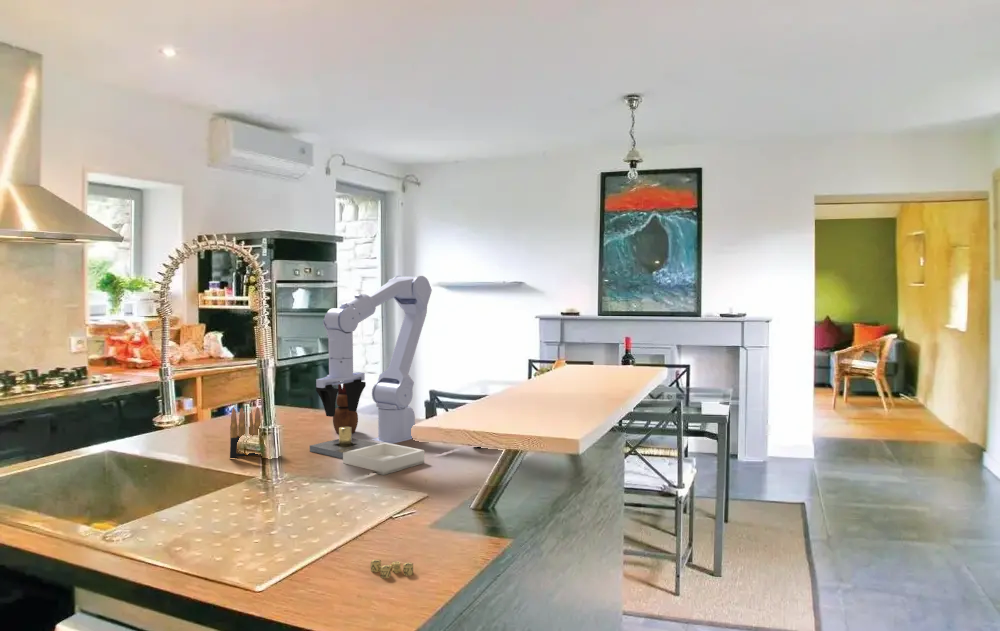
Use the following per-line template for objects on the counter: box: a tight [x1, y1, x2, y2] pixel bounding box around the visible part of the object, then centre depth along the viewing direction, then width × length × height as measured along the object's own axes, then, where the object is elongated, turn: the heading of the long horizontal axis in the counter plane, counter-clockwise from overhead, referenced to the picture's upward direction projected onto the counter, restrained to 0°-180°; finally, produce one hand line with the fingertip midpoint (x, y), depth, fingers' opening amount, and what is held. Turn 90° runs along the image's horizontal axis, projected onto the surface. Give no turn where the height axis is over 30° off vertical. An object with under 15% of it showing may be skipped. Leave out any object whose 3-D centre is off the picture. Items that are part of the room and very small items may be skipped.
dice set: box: [370, 559, 414, 579], centre depth 103 cm, size 5×5×2 cm
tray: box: [342, 442, 425, 476], centre depth 163 cm, size 13×13×3 cm
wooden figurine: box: [332, 381, 359, 434], centre depth 194 cm, size 7×6×15 cm
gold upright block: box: [338, 427, 353, 447], centre depth 174 cm, size 3×3×6 cm
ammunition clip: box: [229, 406, 277, 459], centre depth 169 cm, size 11×2×12 cm, turn 107°
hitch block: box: [309, 437, 381, 460], centre depth 174 cm, size 12×12×2 cm
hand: (341, 413), depth 173 cm, fingers open, 7 cm apart
